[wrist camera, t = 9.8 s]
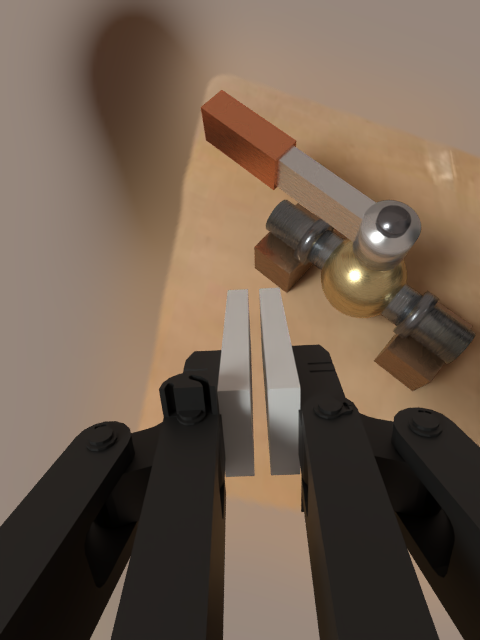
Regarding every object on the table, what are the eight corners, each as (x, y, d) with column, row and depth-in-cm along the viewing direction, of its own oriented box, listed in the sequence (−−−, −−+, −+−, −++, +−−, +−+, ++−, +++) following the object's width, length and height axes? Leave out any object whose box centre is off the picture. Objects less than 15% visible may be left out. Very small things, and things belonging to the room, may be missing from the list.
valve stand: (452, 338, 37) (518, 294, 28) (410, 393, 35) (464, 367, 26) (296, 225, 41) (307, 154, 32) (252, 269, 40) (251, 210, 31)
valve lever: (414, 247, 29) (436, 216, 25) (383, 282, 28) (401, 255, 25) (231, 118, 34) (227, 77, 30) (199, 145, 33) (192, 106, 29)
